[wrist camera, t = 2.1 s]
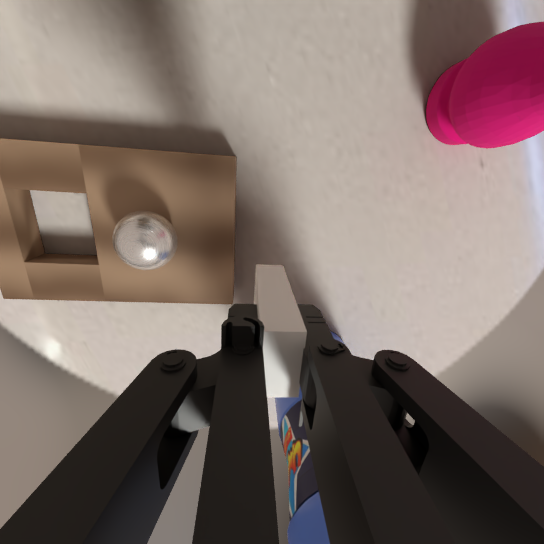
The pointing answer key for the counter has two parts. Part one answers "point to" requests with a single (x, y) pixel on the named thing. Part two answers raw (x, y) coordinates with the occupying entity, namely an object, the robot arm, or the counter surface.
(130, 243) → the steel ball
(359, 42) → the counter surface
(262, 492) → the robot arm
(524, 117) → the pepper mill
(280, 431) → the water bottle
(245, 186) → the counter surface
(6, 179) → the walnut board
